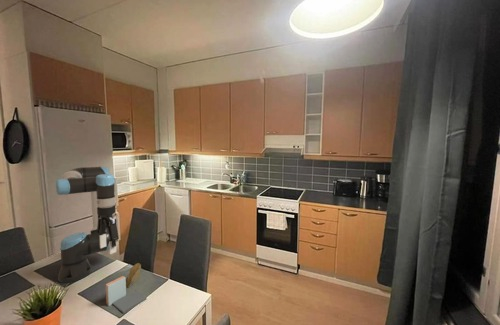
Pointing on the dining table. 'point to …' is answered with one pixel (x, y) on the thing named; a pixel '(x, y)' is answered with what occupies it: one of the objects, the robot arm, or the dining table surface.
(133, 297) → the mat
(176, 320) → the dining table surface
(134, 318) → the dining table surface
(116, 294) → the tile
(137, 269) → the rock
